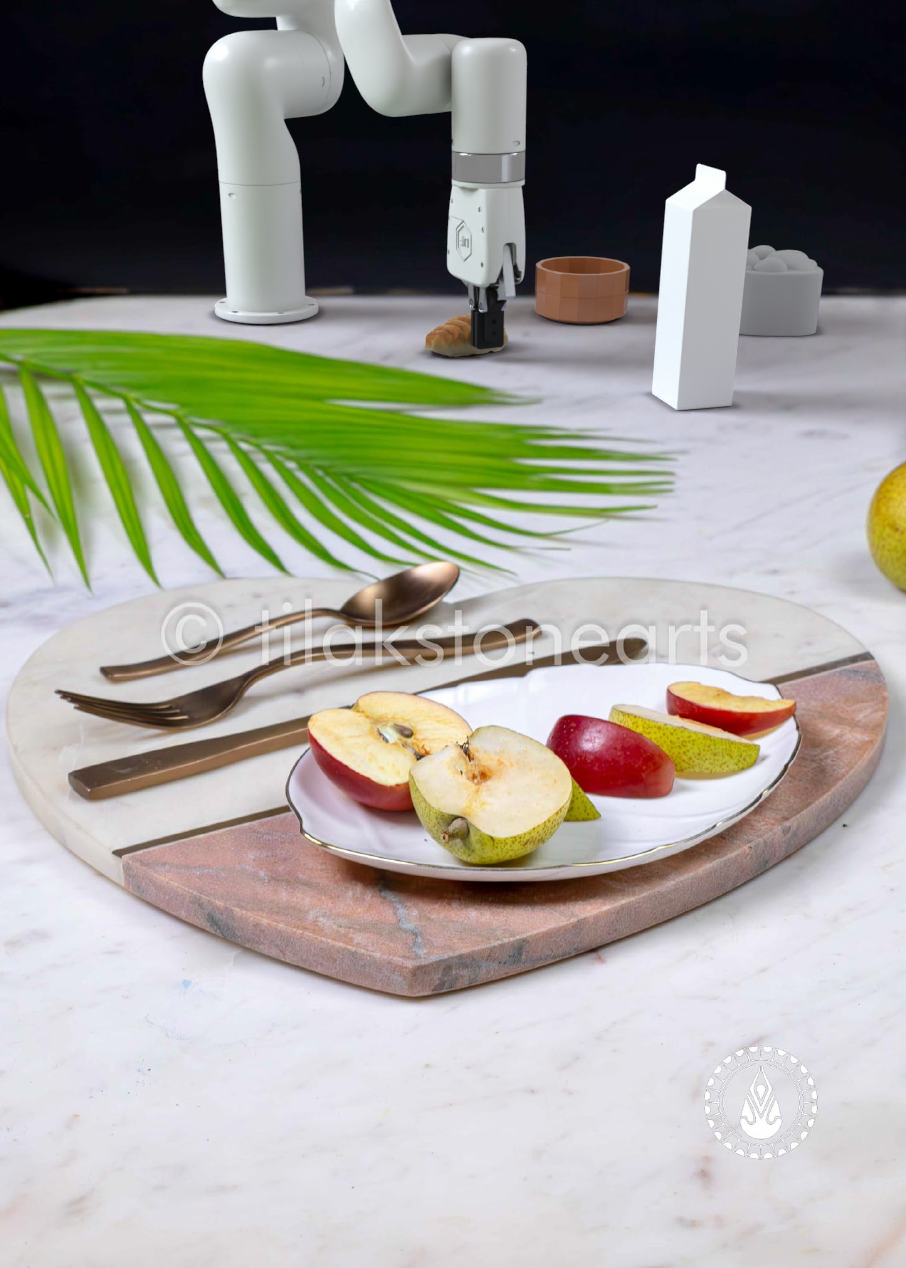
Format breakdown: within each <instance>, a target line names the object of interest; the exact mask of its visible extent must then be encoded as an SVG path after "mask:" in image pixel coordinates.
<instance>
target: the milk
mask: <svg viewBox="0 0 906 1268" xmlns="http://www.w3.org/2000/svg"><path fill="white" fill-rule="evenodd" d="M726 182H727V173H726V171H725V170H721V169H719V168H715V167H711V166H708V165H705V164H701V163H698V164H696V168H695V178H694V180H693V181H692V182H690V183H689V184H687V185H686V186H685V187H683V188H682V189H679V190H678V191H677V192H676V193H674V194H672V195H671V196H669V197H668V198H666V200H665V209H664V219H663V220H664V222H663V235H662V249H661V261H660V262H661V263H660V264H661V265H660V276H659V291H658V304H657V316H656V317H657V318H656V332H655V343H654V345H655V347H654V356H653V357H654V359H653V371H652V372H653V373H652V375H653V376H652V386H651V394H652V395H653V396H655V397H656V398H658V399H659V400H660V401H663V402H664V403H665V404H666V405H668V406H670V408H672V409H674V410H676V411H687V410H697V409H698V410H699V409H710V408H719V407H731V406H733V397H734V396H733V395H734V389H735V388H734V387H735V377H736V366H737V358H738V347H739V337H740V334H739V328H740V318H741V308H742V298H743V288H744V278H745V268H746V258H747V249H749V237H750V228H751V217H752V206H751V205H749V204H747V203H746V202H745V201H743V200H742V199H741V198H740V197H738V196H736V195H734V194H733V193H731V192H730V191H729V190H727V189H726Z"/></svg>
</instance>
